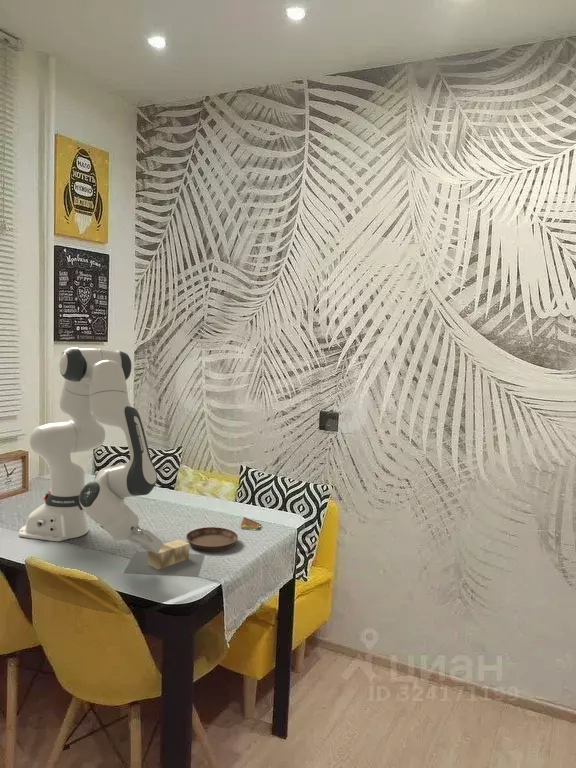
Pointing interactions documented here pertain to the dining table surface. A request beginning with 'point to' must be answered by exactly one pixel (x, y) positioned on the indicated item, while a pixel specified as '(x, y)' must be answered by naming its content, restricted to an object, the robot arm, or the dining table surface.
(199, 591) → the dining table surface
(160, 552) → the maple block
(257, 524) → the pie slice
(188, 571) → the rubber mat
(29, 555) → the dining table surface
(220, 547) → the plant saucer
